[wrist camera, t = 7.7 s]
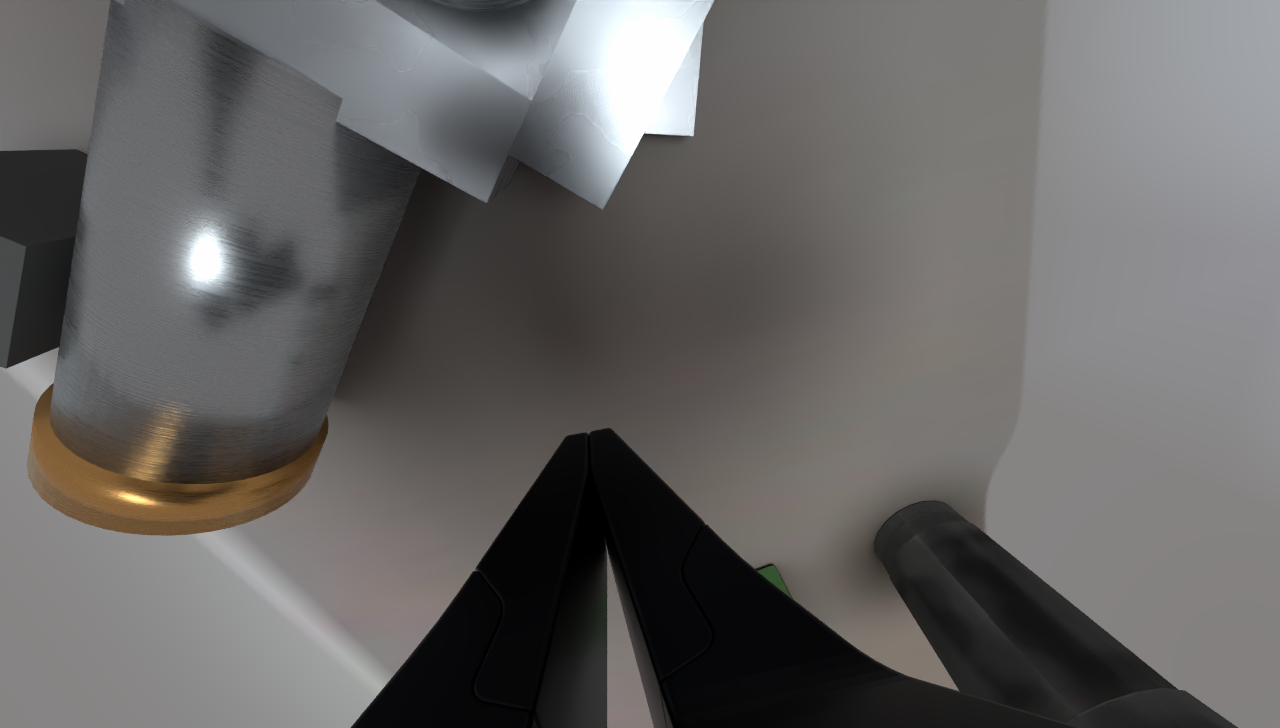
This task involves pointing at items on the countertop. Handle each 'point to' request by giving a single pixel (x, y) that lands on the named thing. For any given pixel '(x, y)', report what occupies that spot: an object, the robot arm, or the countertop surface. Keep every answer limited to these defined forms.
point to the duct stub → (535, 47)
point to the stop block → (36, 247)
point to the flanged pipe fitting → (285, 226)
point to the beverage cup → (1021, 631)
